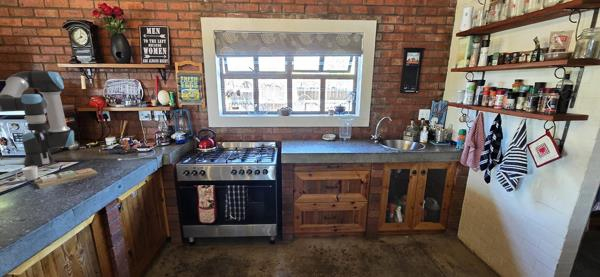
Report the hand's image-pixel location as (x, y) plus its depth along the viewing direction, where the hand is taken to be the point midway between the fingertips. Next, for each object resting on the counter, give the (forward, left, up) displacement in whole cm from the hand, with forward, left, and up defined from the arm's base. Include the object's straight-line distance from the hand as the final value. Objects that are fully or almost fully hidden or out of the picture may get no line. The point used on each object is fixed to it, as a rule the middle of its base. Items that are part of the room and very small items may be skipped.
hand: (46, 163), depth 143 cm
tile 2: (0, +8, -10) cm, 13 cm away
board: (0, +8, -12) cm, 15 cm away
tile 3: (0, +16, -12) cm, 19 cm away
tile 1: (0, 0, -10) cm, 10 cm away
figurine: (-38, +54, -13) cm, 67 cm away
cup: (-16, -6, -13) cm, 21 cm away
